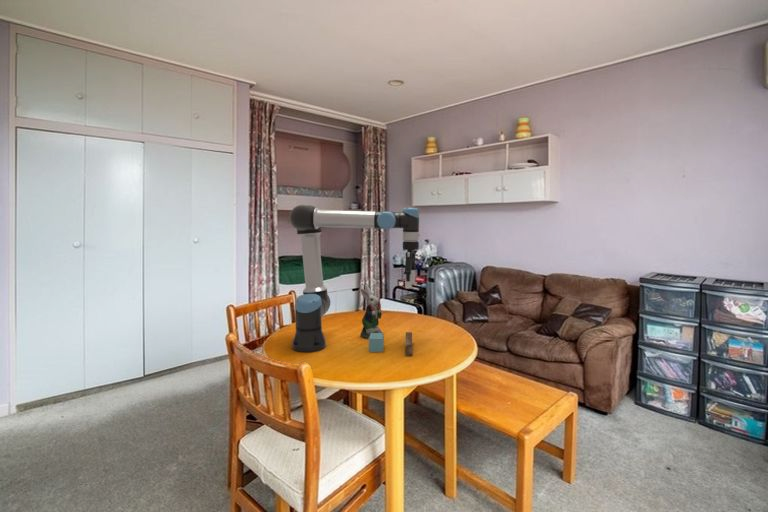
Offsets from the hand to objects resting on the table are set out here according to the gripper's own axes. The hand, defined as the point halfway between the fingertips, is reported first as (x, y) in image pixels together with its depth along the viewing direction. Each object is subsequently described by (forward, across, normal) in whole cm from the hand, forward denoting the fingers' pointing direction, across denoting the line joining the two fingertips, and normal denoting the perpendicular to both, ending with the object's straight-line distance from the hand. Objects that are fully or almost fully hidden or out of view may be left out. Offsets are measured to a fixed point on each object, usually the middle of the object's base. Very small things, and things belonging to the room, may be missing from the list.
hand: (410, 285), depth 187 cm
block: (+27, -15, +13) cm, 33 cm away
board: (+26, -13, -1) cm, 29 cm away
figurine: (+27, +3, +20) cm, 33 cm away
